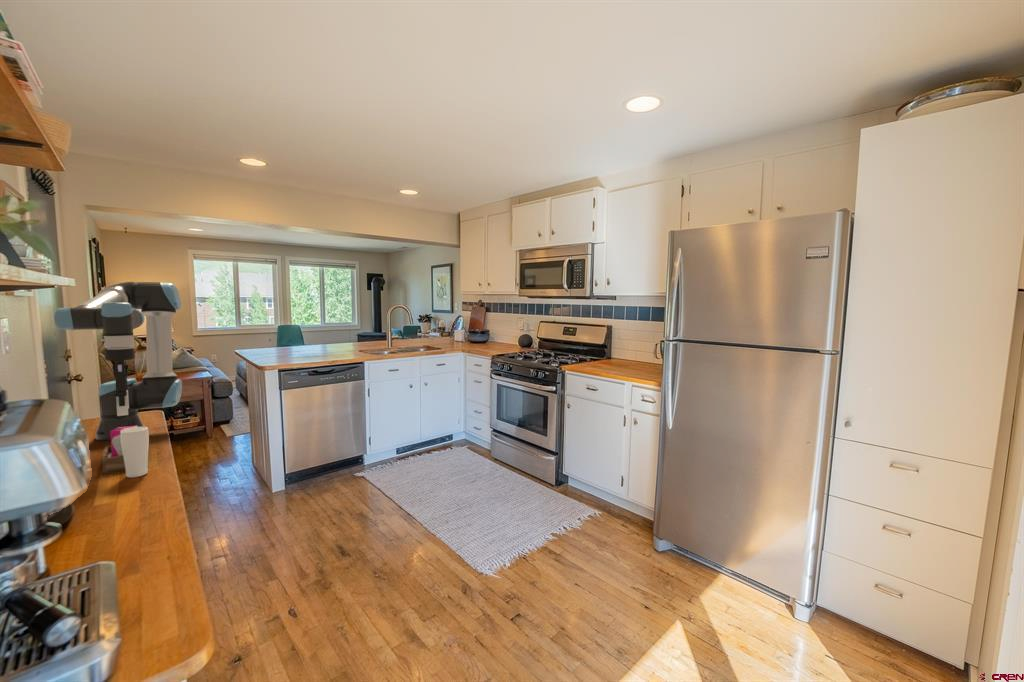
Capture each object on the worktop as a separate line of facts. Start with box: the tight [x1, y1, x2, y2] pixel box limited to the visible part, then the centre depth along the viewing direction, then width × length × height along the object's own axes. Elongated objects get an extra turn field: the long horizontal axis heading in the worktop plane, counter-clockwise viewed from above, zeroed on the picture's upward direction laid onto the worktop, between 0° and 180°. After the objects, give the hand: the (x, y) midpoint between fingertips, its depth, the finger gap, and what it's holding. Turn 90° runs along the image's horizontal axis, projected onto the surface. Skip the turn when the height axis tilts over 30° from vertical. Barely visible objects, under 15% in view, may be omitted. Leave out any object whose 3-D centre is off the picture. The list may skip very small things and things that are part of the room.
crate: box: [101, 445, 126, 475], centre depth 147 cm, size 16×11×5 cm
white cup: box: [120, 426, 150, 479], centre depth 137 cm, size 7×7×15 cm
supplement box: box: [110, 426, 138, 457], centre depth 147 cm, size 6×6×12 cm
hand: (123, 412), depth 146 cm, fingers open, 11 cm apart
